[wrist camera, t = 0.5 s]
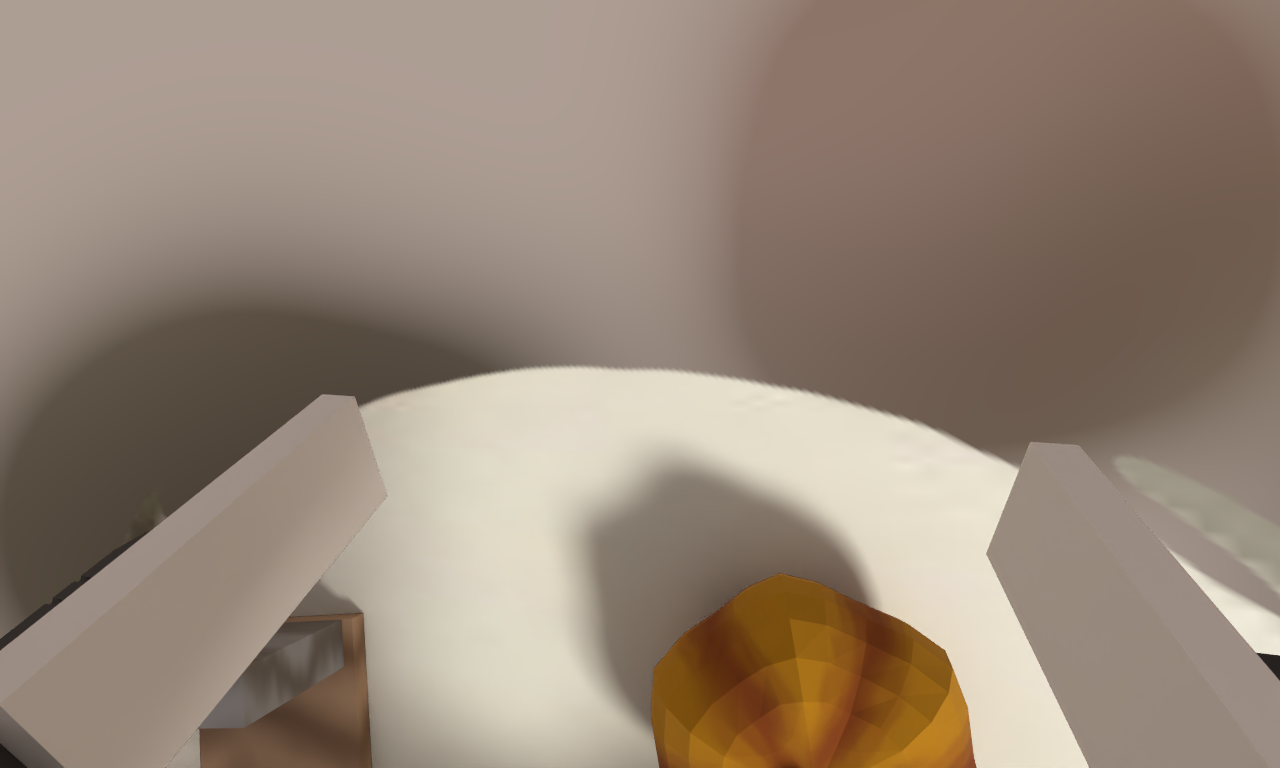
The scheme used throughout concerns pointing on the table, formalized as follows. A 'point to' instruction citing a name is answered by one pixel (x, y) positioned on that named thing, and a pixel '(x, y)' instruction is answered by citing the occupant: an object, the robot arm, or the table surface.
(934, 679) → the decorative pumpkin
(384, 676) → the table surface
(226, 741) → the bench
